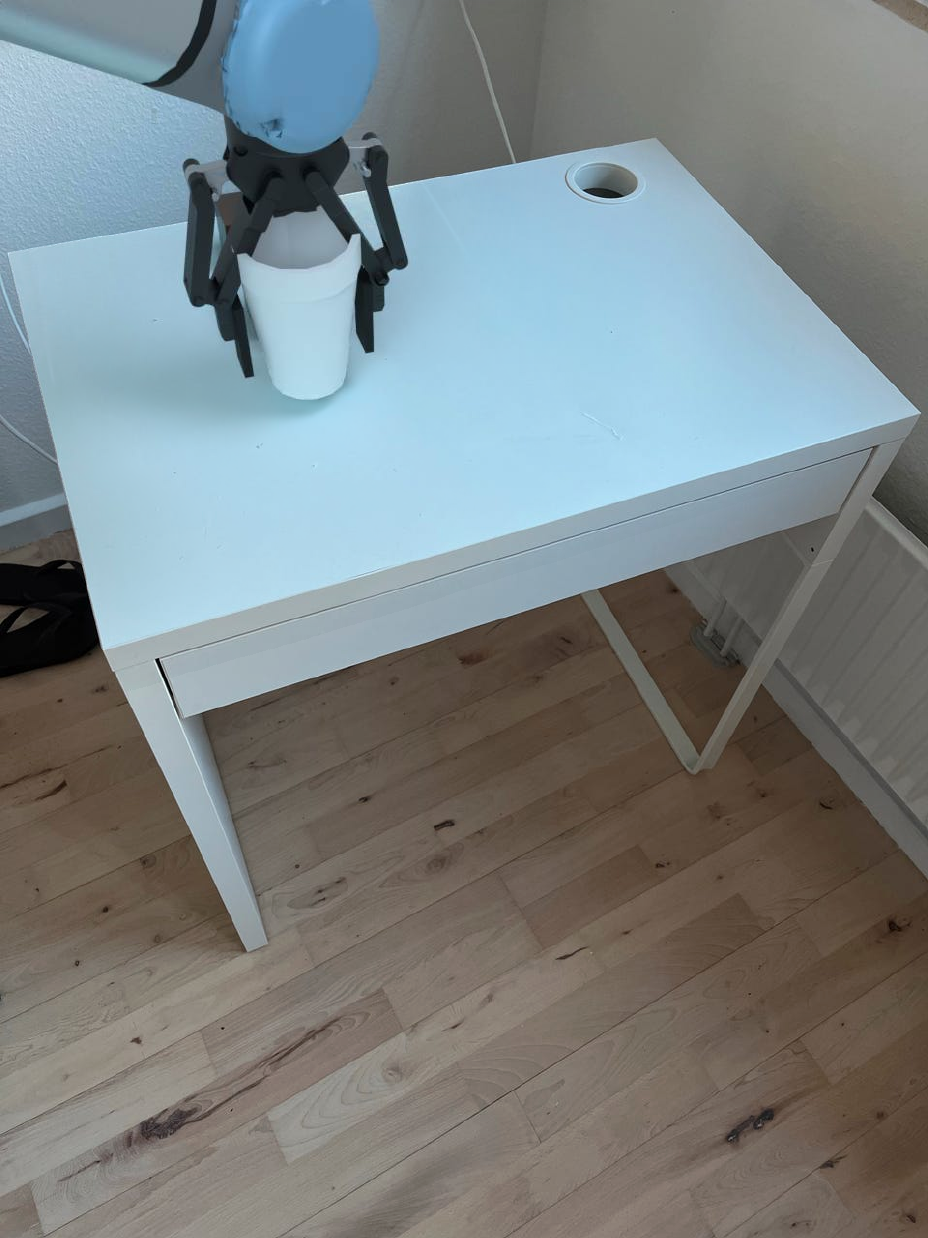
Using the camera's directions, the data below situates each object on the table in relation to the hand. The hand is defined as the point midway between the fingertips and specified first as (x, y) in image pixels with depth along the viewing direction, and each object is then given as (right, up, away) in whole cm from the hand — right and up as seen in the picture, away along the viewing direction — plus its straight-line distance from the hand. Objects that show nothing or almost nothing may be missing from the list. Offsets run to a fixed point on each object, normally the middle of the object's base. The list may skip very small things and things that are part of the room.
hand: (306, 354), depth 77 cm
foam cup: (0, -1, +2) cm, 2 cm away
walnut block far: (-7, +13, +13) cm, 20 cm away
